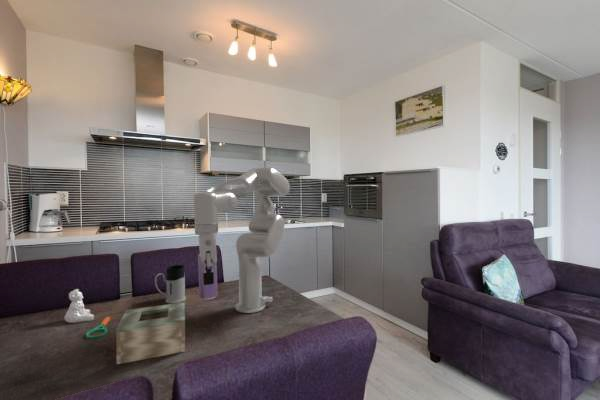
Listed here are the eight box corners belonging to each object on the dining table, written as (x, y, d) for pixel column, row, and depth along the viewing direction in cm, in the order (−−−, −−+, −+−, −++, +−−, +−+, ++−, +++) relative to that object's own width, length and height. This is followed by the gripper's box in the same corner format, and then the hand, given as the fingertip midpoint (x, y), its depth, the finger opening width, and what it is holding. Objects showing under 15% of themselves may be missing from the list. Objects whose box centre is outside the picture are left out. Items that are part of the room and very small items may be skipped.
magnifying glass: (103, 338, 98) (103, 333, 98) (82, 341, 96) (82, 336, 96) (116, 320, 112) (116, 316, 112) (98, 322, 110) (98, 318, 110)
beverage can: (212, 300, 96) (210, 255, 95) (195, 299, 97) (194, 255, 97) (220, 294, 102) (219, 251, 101) (205, 293, 103) (203, 251, 102)
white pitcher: (190, 298, 135) (189, 266, 135) (161, 308, 123) (160, 273, 123) (178, 295, 139) (178, 264, 139) (149, 304, 127) (149, 270, 127)
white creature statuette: (95, 320, 112) (94, 289, 112) (66, 327, 105) (66, 294, 105) (89, 313, 118) (88, 284, 118) (62, 320, 112) (61, 289, 112)
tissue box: (184, 330, 103) (184, 302, 103) (185, 351, 89) (184, 319, 89) (126, 340, 96) (126, 309, 96) (116, 364, 82) (116, 329, 82)
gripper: (220, 231, 92) (222, 287, 93) (215, 225, 108) (216, 273, 109) (195, 233, 89) (197, 291, 90) (193, 226, 105) (195, 276, 106)
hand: (208, 281), depth 99 cm, fingers closed on beverage can, 5 cm apart
